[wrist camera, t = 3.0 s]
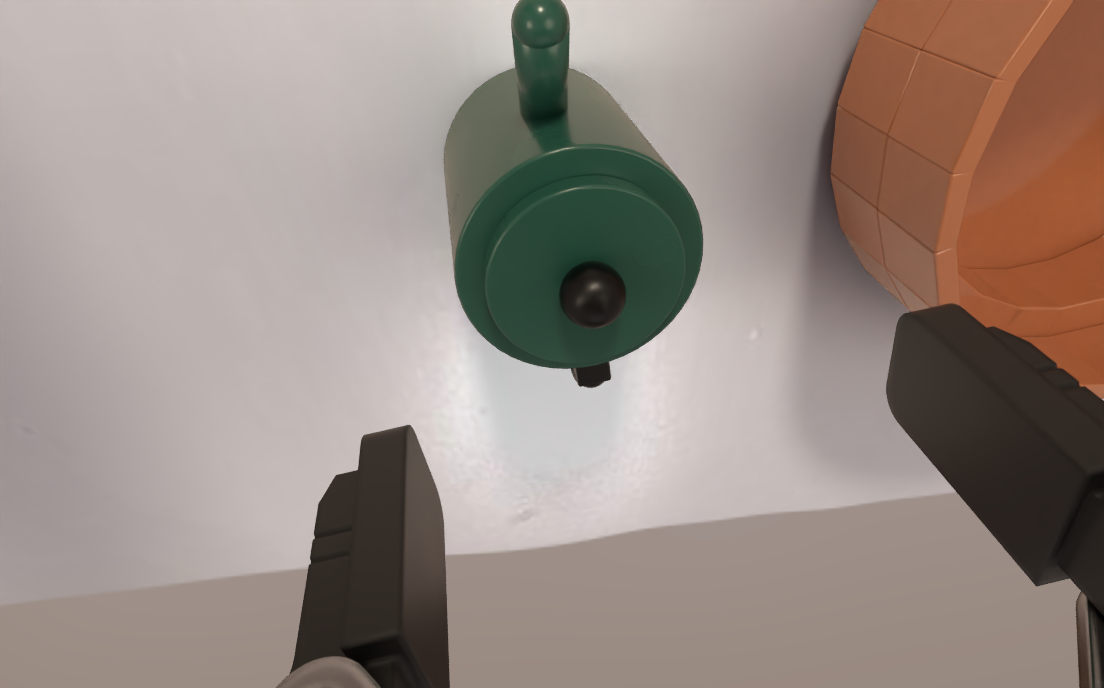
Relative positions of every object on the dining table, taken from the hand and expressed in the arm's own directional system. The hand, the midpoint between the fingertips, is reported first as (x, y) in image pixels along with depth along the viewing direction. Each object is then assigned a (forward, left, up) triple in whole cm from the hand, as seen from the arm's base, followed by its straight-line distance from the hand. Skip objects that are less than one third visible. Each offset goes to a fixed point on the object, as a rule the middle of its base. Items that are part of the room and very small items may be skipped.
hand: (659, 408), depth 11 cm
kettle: (0, 0, -11) cm, 11 cm away
